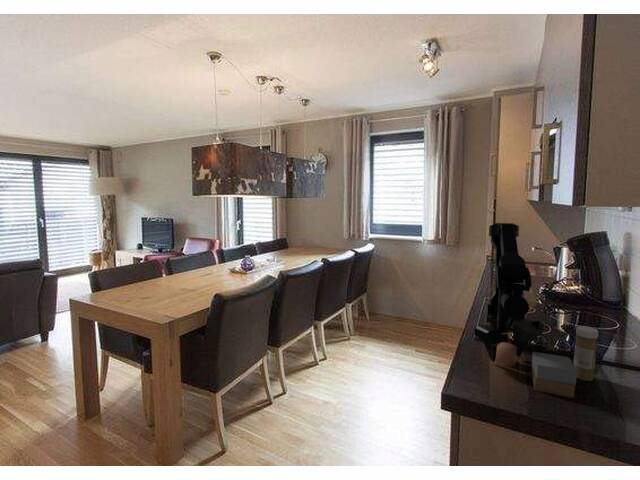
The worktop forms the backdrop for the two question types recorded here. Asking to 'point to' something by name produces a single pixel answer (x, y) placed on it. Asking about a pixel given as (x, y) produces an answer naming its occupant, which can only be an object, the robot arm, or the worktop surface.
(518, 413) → the worktop surface
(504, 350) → the orange clay cylinder
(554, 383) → the beige square block
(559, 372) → the grey top block
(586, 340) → the sprinkles bottle
